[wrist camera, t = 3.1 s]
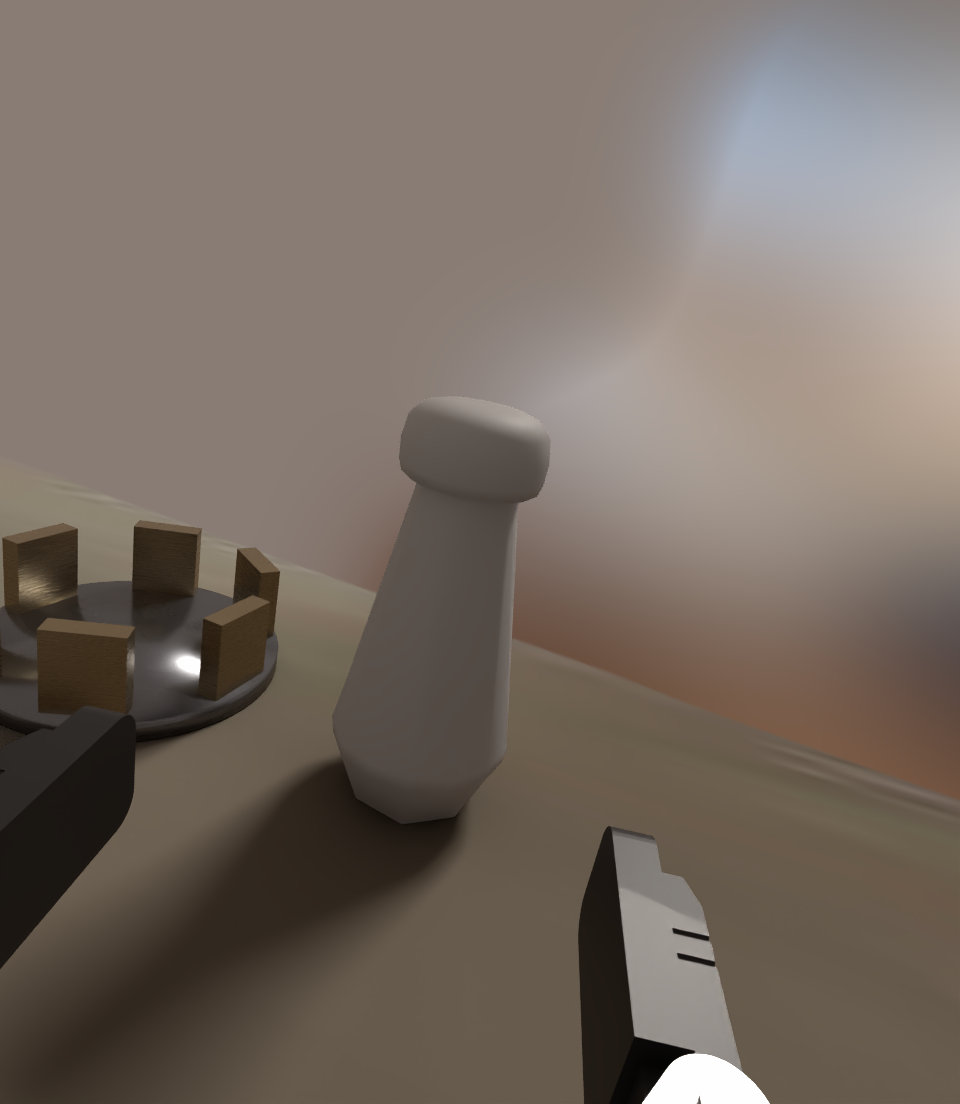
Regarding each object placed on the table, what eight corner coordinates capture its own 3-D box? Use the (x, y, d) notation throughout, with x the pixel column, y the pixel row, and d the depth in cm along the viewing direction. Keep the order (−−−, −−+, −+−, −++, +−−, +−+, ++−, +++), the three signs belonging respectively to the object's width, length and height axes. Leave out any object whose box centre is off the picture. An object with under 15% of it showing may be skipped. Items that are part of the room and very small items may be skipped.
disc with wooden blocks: (328, 651, 31) (338, 573, 30) (125, 788, 22) (128, 679, 20) (136, 576, 35) (138, 502, 33) (-118, 664, 25) (-128, 564, 23)
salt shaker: (436, 875, 21) (532, 439, 16) (286, 787, 23) (337, 382, 19) (520, 778, 26) (611, 424, 21) (391, 713, 28) (449, 381, 24)
